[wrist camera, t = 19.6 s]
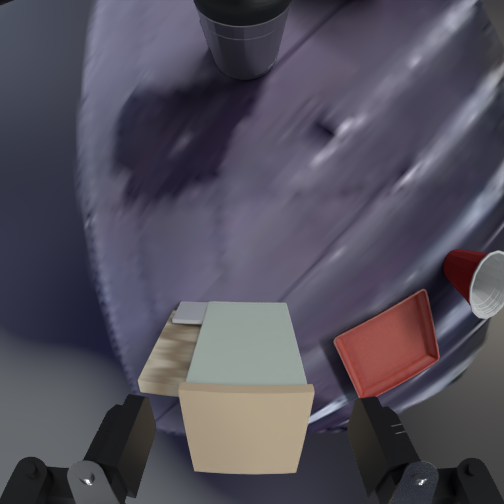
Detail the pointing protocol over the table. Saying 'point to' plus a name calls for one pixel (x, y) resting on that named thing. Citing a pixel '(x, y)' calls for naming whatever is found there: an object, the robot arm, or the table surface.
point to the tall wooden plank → (170, 359)
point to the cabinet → (244, 389)
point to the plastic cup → (477, 279)
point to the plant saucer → (390, 346)
